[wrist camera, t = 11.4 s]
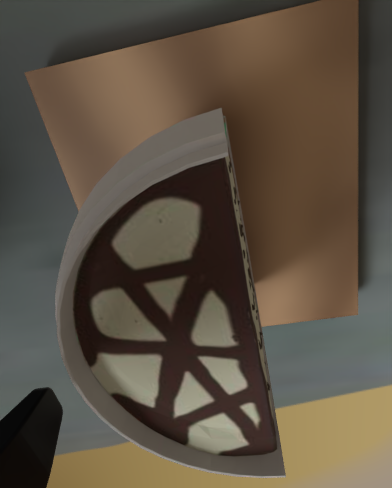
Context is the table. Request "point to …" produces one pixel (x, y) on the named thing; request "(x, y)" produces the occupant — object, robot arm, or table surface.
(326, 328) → the table surface
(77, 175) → the walnut block
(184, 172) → the food container
